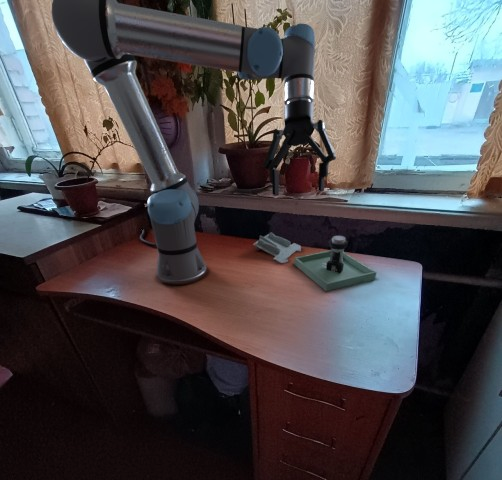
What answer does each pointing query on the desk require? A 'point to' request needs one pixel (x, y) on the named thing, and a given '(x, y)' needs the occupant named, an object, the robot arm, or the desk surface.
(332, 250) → the push button
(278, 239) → the metal bracket
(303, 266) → the tray
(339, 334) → the desk surface
